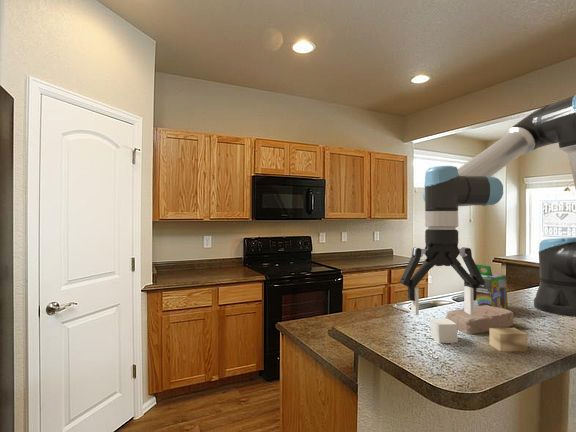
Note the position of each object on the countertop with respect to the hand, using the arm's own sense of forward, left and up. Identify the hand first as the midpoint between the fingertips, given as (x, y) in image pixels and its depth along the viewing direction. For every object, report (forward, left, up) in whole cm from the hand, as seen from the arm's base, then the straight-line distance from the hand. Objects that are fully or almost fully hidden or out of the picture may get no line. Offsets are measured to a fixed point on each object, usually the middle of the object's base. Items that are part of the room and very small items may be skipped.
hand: (441, 313), depth 80 cm
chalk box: (-26, -24, -7) cm, 36 cm away
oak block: (-12, +6, -7) cm, 15 cm away
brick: (-15, -9, -7) cm, 19 cm away
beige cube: (0, 0, -7) cm, 7 cm away
